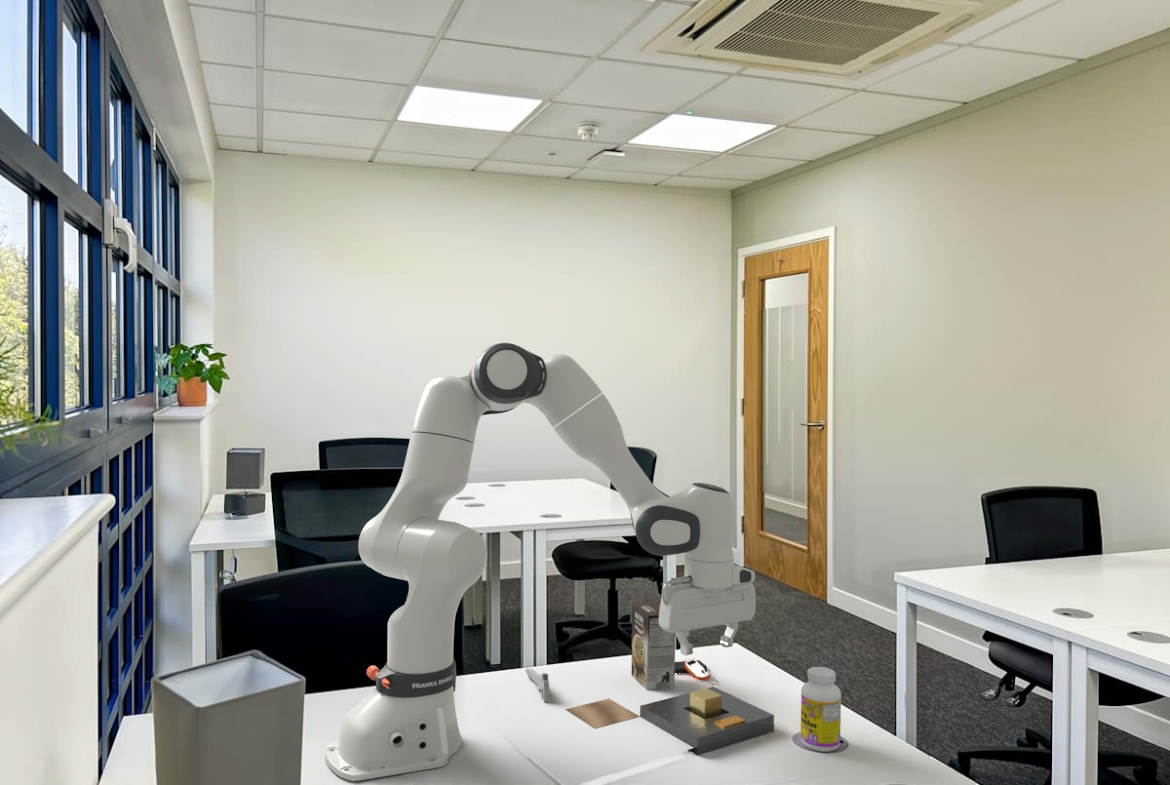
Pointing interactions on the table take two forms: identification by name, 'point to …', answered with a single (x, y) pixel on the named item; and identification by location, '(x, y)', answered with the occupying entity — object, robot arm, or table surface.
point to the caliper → (540, 683)
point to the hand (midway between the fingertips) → (706, 650)
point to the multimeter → (693, 669)
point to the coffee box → (651, 648)
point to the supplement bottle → (820, 710)
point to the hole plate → (709, 722)
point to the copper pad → (602, 713)
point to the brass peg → (705, 703)
